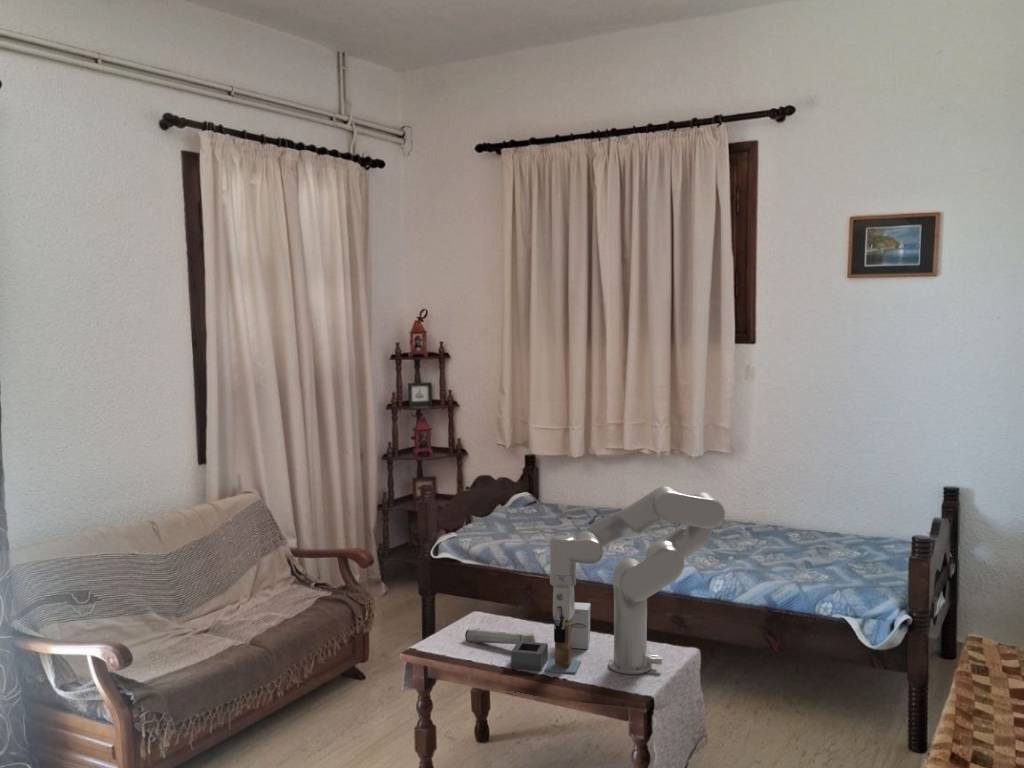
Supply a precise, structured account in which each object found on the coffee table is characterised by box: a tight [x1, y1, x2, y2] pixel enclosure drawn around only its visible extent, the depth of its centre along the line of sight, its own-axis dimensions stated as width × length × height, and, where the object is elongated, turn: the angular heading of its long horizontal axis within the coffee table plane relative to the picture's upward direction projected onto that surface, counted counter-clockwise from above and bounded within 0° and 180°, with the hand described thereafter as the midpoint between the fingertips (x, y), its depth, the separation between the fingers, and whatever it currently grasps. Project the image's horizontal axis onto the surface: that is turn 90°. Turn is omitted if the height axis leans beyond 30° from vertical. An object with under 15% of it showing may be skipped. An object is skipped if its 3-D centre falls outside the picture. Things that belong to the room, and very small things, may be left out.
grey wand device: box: [464, 627, 539, 645], centre depth 271 cm, size 5×7×25 cm
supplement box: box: [571, 602, 592, 650], centre depth 273 cm, size 7×7×13 cm
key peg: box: [554, 620, 572, 668], centre depth 255 cm, size 5×5×13 cm
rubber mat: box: [544, 657, 582, 675], centre depth 255 cm, size 9×9×1 cm
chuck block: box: [510, 641, 549, 672], centre depth 258 cm, size 9×9×5 cm
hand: (562, 636), depth 255 cm, fingers open, 9 cm apart
